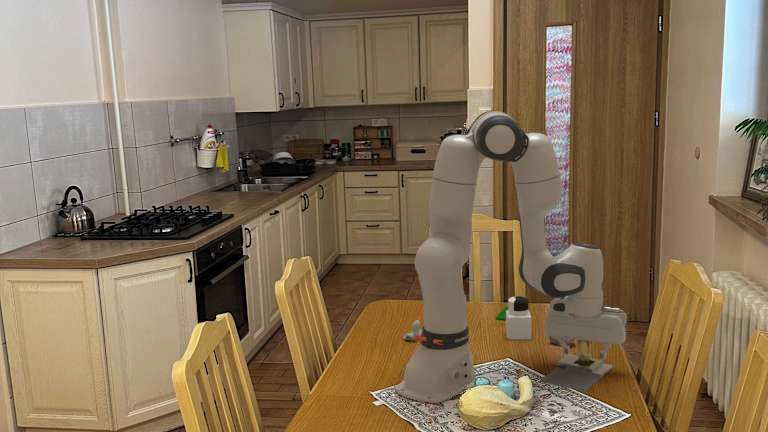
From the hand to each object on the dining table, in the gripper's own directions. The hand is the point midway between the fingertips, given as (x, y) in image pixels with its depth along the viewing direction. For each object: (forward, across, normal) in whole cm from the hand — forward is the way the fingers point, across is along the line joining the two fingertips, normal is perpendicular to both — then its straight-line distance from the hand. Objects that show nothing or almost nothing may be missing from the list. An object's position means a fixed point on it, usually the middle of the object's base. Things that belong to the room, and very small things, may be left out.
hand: (584, 355), depth 186 cm
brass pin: (+3, 0, 0) cm, 3 cm away
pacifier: (+5, +53, -8) cm, 54 cm away
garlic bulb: (+5, +11, -19) cm, 23 cm away
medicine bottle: (+5, +24, -22) cm, 33 cm away
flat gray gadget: (+3, 0, 0) cm, 3 cm away
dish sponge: (+6, +32, -38) cm, 49 cm away
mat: (+5, +1, +4) cm, 6 cm away
